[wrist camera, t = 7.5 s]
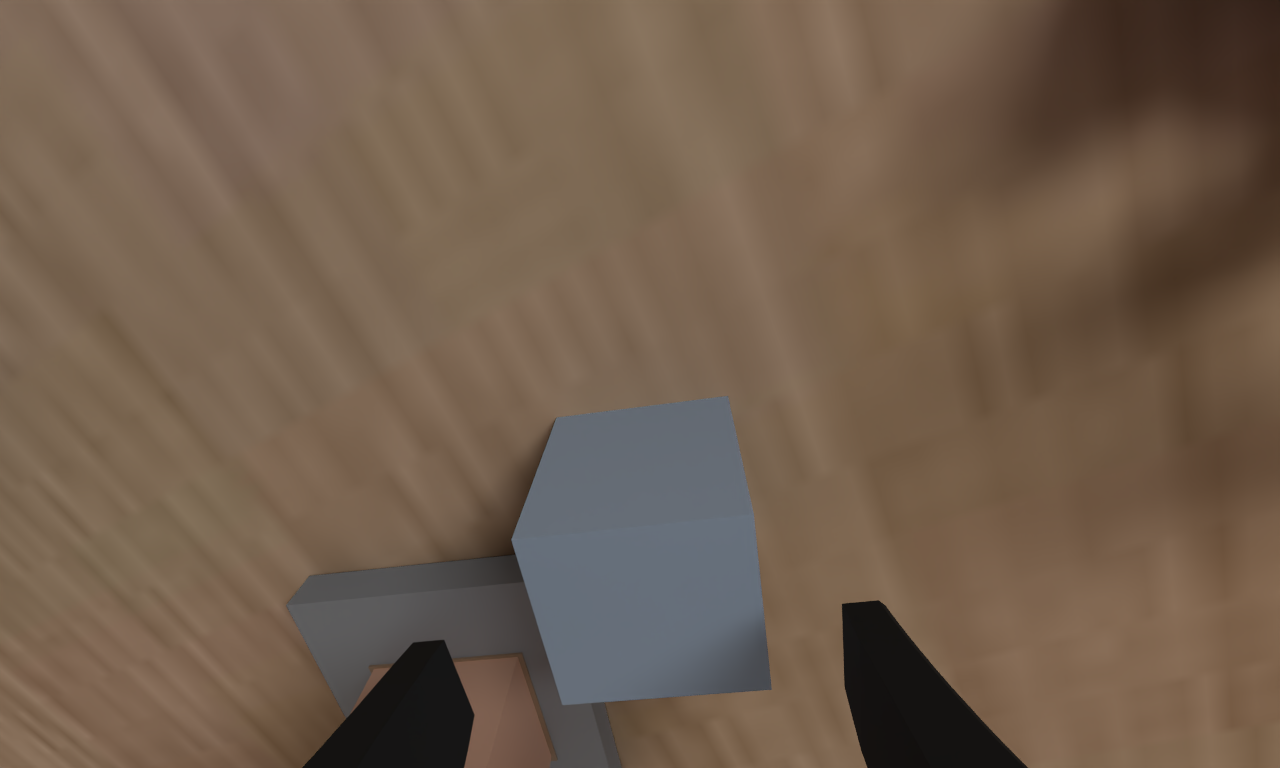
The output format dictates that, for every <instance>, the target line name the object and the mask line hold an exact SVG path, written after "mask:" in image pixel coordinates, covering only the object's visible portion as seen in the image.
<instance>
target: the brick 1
mask: <svg viewBox="0 0 1280 768" xmlns="http://www.w3.org/2000/svg"><path fill="white" fill-rule="evenodd" d="M453 663H454V665H455V668H456V670H457V673H458V675H459V677H460V680H461V682H462V685H463V687H464V690H465V692H466V695H467V697H468V700H469V702H470V705H471V707H472V710H473V712H474V714H475V716H474V721H473V726H472V732H471V737H470V742H469V748H468V752H467V757H466V762H465V766H464V768H550V762H551V754H550V751H549V748H548V745H547V742H546V739H545V736H544V733H543V730H542V727H541V724H540V721H539V718H538V715H537V712H536V709H535V706H534V704H533V701H532V698H531V695H530V692H529V689H528V686H527V683H526V680H525V677H524V674H523V671H522V668H521V665H520V662H519V659H518V657H511V658H499V659H487V660H475V661H464V662H453ZM389 669H390V668H380V669H374V670H373V672H372V674H371V676H370V678H369V679H368V681H367V683H366V685H365V687H364V689H363V691H362V692H361V694H360V696H359V698H358V700H357V702H356V704H355V706H354V707H353V709H352V711H351V713H352V712H353V711H354V709H355V708H356V707H357V706H358V705H359V704H360V703H361V701H362V700H363V699H364V698H365V697H366V696H367V695H368V693H369V692H370V691H371V690H372V689H373V688H374V686H375V685H376V684H377V683H378V682H379V681H380V679H381V678H382V677H383V676H384V675H385V674H386V672H387V671H388V670H389ZM351 713H350V714H351Z"/></svg>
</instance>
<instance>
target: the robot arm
mask: <svg viewBox="0 0 1280 768" xmlns="http://www.w3.org/2000/svg"><path fill="white" fill-rule="evenodd" d="M842 617H843V649H844V680H845V690H846V694H847V698H848V702H849V705H850V709H851V713H852V717H853V721H854V725H855V728H856V732H857V736H858V740H859V743H860V747H861V751H862V754H863V756H864V759H865V762H866V765H867V767H868V768H1028V767H1027V766H1026V765H1025V764H1024V763H1023V762H1022V761H1021V760H1020V759H1019V758H1018V757H1017V756H1016V755H1015V754H1014V753H1013V752H1012V751H1011V750H1010V749H1009V748H1008V747H1007V746H1006V745H1005V744H1004V743H1003V742H1002V741H1001V740H1000V739H999V738H998V737H997V736H996V735H995V734H994V733H993V732H992V731H991V730H990V729H989V728H988V726H987V725H986V724H985V723H984V722H983V721H982V720H981V719H980V718H979V717H978V716H977V715H976V713H975V712H974V711H973V710H972V709H971V708H970V707H969V706H968V705H967V704H966V702H965V701H964V700H963V699H962V698H961V697H960V696H959V695H958V694H957V693H956V691H955V690H954V689H953V688H952V687H951V686H950V685H949V684H948V682H947V681H946V680H945V679H944V678H943V677H942V676H941V674H940V673H939V672H938V671H937V670H936V669H935V667H934V666H933V665H932V664H931V663H930V662H929V660H928V659H927V658H926V657H925V656H924V654H923V653H922V652H921V651H920V650H919V648H918V647H917V646H916V645H915V643H914V642H913V641H912V640H911V638H910V637H909V636H908V635H907V633H906V632H905V631H904V630H903V628H902V627H901V626H900V625H899V623H898V622H897V621H896V619H895V618H894V617H893V615H892V614H891V613H890V611H889V610H888V609H887V607H886V606H885V605H884V604H883V603H881V602H880V601H868V602H857V603H846V604H842ZM474 716H475V714H474V712H473V710H472V707H471V705H470V702H469V700H468V697H467V695H466V692H465V690H464V687H463V685H462V682H461V680H460V677H459V675H458V673H457V670H456V668H455V665H454V663H453V660H452V658H451V655H450V653H449V650H448V648H447V645H446V643H445V641H444V640H434V641H423V642H413V643H412V644H411V645H410V646H409V648H408V649H407V650H406V651H405V652H404V653H403V654H402V655H401V656H400V658H399V659H398V660H397V661H396V662H395V663H394V664H393V666H392V667H391V668H390V669H389V670H388V671H387V672H386V674H385V675H384V676H383V677H382V678H381V679H380V681H379V682H378V683H377V684H376V685H375V686H374V688H373V689H372V690H371V691H370V692H369V693H368V695H367V696H366V697H365V698H364V699H363V700H362V701H361V703H360V704H359V705H358V706H357V707H356V708H355V709H354V711H353V712H352V713H351V714H350V715H349V716H348V717H347V719H346V720H345V721H344V722H343V723H342V724H341V725H340V726H339V728H338V729H337V730H336V731H335V732H334V733H333V734H332V735H331V737H330V738H329V739H328V740H327V741H326V742H325V743H324V745H323V746H322V747H321V748H320V749H319V750H318V751H317V752H316V753H315V755H314V756H313V757H312V758H311V759H310V760H309V761H308V762H307V763H306V764H305V765H304V766H303V767H302V768H464V766H465V762H466V757H467V752H468V748H469V742H470V737H471V732H472V726H473V721H474Z"/></svg>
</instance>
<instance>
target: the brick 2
mask: <svg viewBox="0 0 1280 768" xmlns="http://www.w3.org/2000/svg"><path fill="white" fill-rule="evenodd" d="M511 541H512V544H513V547H514V550H515V554H516V557H517V560H518V563H519V567H520V570H521V573H522V576H523V579H524V583H525V586H526V589H527V592H528V596H529V599H530V602H531V605H532V609H533V612H534V615H535V618H536V621H537V625H538V628H539V631H540V634H541V638H542V641H543V644H544V647H545V650H546V654H547V657H548V660H549V663H550V667H551V670H552V673H553V676H554V679H555V683H556V686H557V689H558V692H559V696H560V699H561V702H562V705H572V704H585V703H599V702H612V701H626V700H639V699H652V698H666V697H679V696H692V695H706V694H719V693H733V692H746V691H759V690H772V689H771V679H770V669H769V659H768V649H767V640H766V630H765V620H764V610H763V601H762V591H761V581H760V571H759V562H758V552H757V542H756V532H755V522H754V514H753V509H752V504H751V500H750V495H749V491H748V486H747V482H746V477H745V472H744V468H743V463H742V459H741V454H740V449H739V445H738V440H737V436H736V431H735V427H734V422H733V417H732V413H731V408H730V404H729V399H728V396H724V397H716V398H708V399H700V400H692V401H685V402H677V403H669V404H661V405H653V406H645V407H637V408H629V409H621V410H613V411H606V412H598V413H590V414H582V415H574V416H566V417H558V418H556V421H555V423H554V426H553V429H552V431H551V434H550V437H549V439H548V442H547V445H546V448H545V450H544V453H543V456H542V458H541V461H540V464H539V466H538V469H537V472H536V474H535V477H534V480H533V483H532V485H531V488H530V491H529V493H528V496H527V499H526V501H525V504H524V507H523V510H522V512H521V515H520V518H519V520H518V523H517V526H516V528H515V531H514V534H513V537H512V539H511Z"/></svg>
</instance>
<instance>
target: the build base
mask: <svg viewBox="0 0 1280 768" xmlns="http://www.w3.org/2000/svg"><path fill="white" fill-rule="evenodd" d="M286 606H287V608H288V610H289V612H290V614H291V616H292V617H293V619H294V621H295V623H296V625H297V627H298V629H299V631H300V632H301V634H302V636H303V638H304V640H305V642H306V644H307V646H308V648H309V649H310V651H311V653H312V655H313V657H314V659H315V661H316V663H317V665H318V666H319V668H320V670H321V672H322V674H323V676H324V678H325V680H326V682H327V683H328V685H329V687H330V689H331V691H332V693H333V695H334V697H335V699H336V700H337V702H338V704H339V706H340V708H341V710H342V712H343V714H344V715H345V717H346V719H347V717H348V716H349V715H350V713H351V711H352V709H353V707H354V706H355V704H356V702H357V700H358V698H359V696H360V694H361V692H362V691H363V689H364V687H365V685H366V683H367V681H368V679H369V678H370V676H371V674H372V672H373V670H374V669H380V668H391V667H392V666H393V664H394V663H395V662H396V661H397V660H398V659H399V658H400V656H401V655H402V654H403V653H404V652H405V651H406V650H407V649H408V648H409V646H410V645H411V644H412V643H413V642H423V641H434V640H444V641H445V643H446V645H447V648H448V650H449V653H450V655H451V658H452V660H453V662H464V661H475V660H487V659H499V658H511V657H518V659H519V662H520V665H521V668H522V671H523V674H524V677H525V680H526V683H527V686H528V689H529V692H530V695H531V698H532V701H533V704H534V706H535V709H536V712H537V715H538V718H539V721H540V724H541V727H542V730H543V733H544V736H545V739H546V742H547V745H548V748H549V751H550V754H551V762H550V768H622V767H621V763H620V760H619V756H618V752H617V749H616V745H615V741H614V737H613V734H612V730H611V726H610V723H609V719H608V715H607V712H606V708H605V704H604V702H599V703H585V704H572V705H562V702H561V699H560V696H559V692H558V689H557V686H556V683H555V679H554V676H553V673H552V670H551V667H550V663H549V660H548V657H547V654H546V650H545V647H544V644H543V641H542V638H541V634H540V631H539V628H538V625H537V621H536V618H535V615H534V612H533V609H532V605H531V602H530V599H529V596H528V592H527V589H526V586H525V583H524V579H523V576H522V573H521V570H520V567H519V563H518V560H517V557H516V555H508V556H498V557H488V558H479V559H469V560H459V561H450V562H440V563H430V564H421V565H411V566H401V567H392V568H382V569H372V570H363V571H353V572H343V573H334V574H324V575H314V576H309V577H308V578H307V580H306V581H305V582H304V583H303V585H302V586H301V587H300V588H299V590H298V591H297V592H296V594H295V595H294V596H293V597H292V599H291V600H290V601H289V602H288V604H287V605H286Z"/></svg>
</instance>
